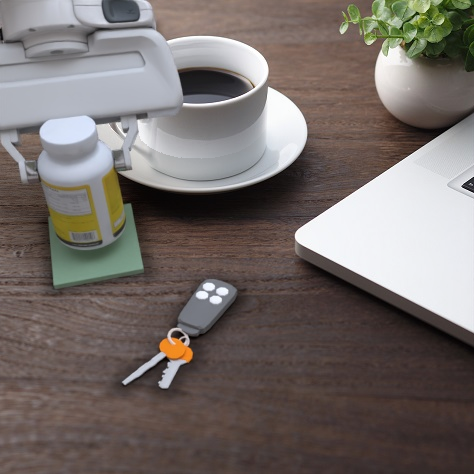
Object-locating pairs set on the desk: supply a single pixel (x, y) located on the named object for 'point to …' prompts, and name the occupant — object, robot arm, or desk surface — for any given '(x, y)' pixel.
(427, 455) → the desk surface
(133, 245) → the green mat
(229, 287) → the key chain
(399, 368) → the desk surface
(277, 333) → the desk surface
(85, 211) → the pill bottle
